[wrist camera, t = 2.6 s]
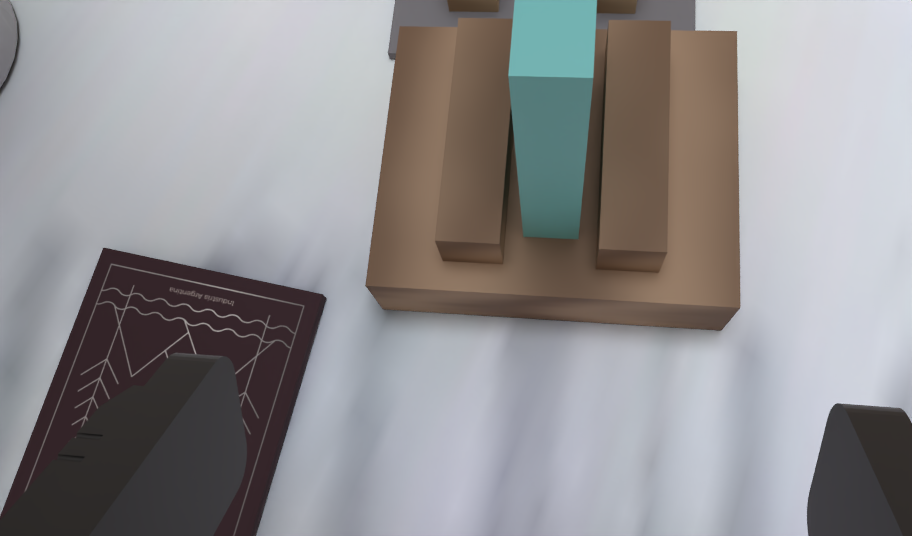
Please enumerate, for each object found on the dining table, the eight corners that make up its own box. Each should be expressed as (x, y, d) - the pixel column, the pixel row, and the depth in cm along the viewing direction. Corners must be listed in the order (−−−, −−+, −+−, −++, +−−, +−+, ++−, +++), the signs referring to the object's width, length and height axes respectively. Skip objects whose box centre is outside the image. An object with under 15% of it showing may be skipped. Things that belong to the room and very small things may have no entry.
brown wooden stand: (383, 309, 30) (351, 267, 25) (412, 70, 33) (389, -8, 28) (721, 330, 28) (755, 289, 23) (720, 76, 31) (750, -5, 26)
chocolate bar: (322, 294, 30) (156, 849, 25) (329, 301, 31) (170, 839, 26) (103, 247, 31) (-94, 761, 26) (115, 255, 32) (-73, 754, 27)
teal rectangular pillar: (523, 236, 27) (508, 75, 17) (534, 77, 29) (526, -147, 19) (578, 239, 27) (593, 78, 17) (586, 78, 28) (604, -148, 19)
